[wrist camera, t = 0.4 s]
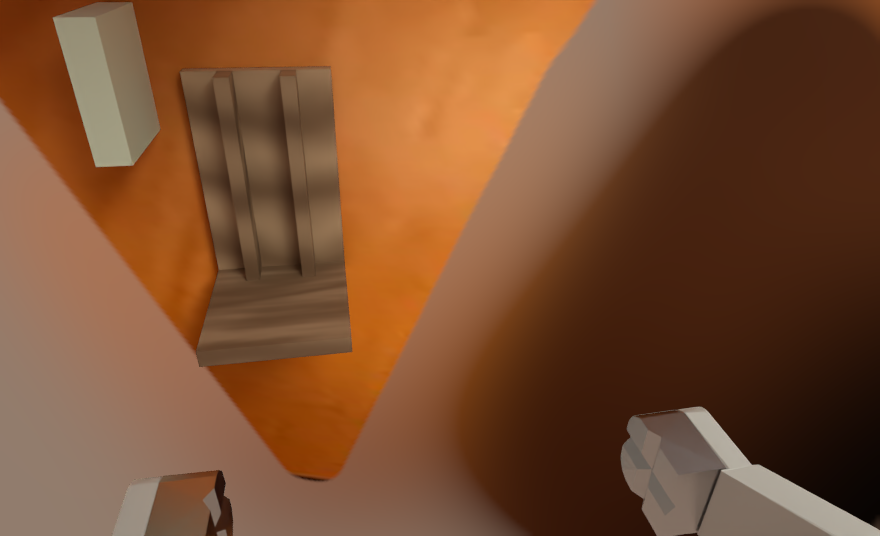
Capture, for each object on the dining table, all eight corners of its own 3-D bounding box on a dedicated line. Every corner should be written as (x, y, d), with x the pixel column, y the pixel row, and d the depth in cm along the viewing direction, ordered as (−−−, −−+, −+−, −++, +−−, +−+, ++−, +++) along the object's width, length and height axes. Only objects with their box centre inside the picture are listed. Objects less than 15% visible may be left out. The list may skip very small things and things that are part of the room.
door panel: (97, 2, 45) (52, 17, 37) (132, 2, 45) (95, 17, 38) (129, 130, 50) (95, 167, 42) (160, 129, 50) (132, 165, 43)
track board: (182, 68, 48) (139, 115, 36) (330, 66, 50) (335, 109, 38) (222, 276, 58) (199, 366, 46) (344, 267, 60) (352, 351, 48)
